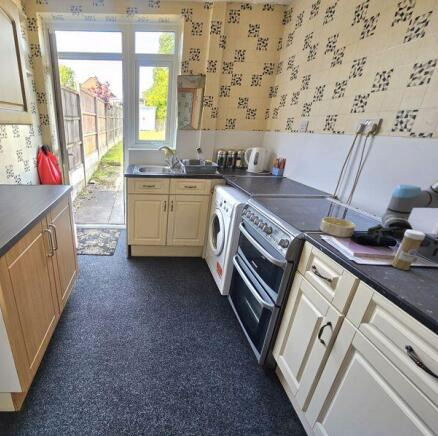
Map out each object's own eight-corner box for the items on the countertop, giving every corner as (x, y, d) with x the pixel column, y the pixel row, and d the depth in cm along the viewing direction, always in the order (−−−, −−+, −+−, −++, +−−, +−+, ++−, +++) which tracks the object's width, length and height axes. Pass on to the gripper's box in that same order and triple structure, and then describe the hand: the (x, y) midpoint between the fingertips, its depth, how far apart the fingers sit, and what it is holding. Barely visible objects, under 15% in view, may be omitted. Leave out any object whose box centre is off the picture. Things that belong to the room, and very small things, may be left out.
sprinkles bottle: (400, 270, 83) (417, 234, 78) (387, 263, 87) (402, 229, 82) (412, 270, 83) (430, 234, 79) (398, 263, 88) (414, 228, 83)
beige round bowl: (348, 230, 115) (352, 220, 113) (354, 240, 105) (358, 229, 103) (317, 225, 120) (320, 215, 118) (321, 234, 110) (324, 224, 108)
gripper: (437, 244, 95) (455, 268, 79) (355, 228, 109) (357, 245, 93) (447, 226, 92) (467, 247, 76) (361, 212, 106) (363, 226, 90)
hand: (406, 246), depth 85 cm, fingers open, 13 cm apart
